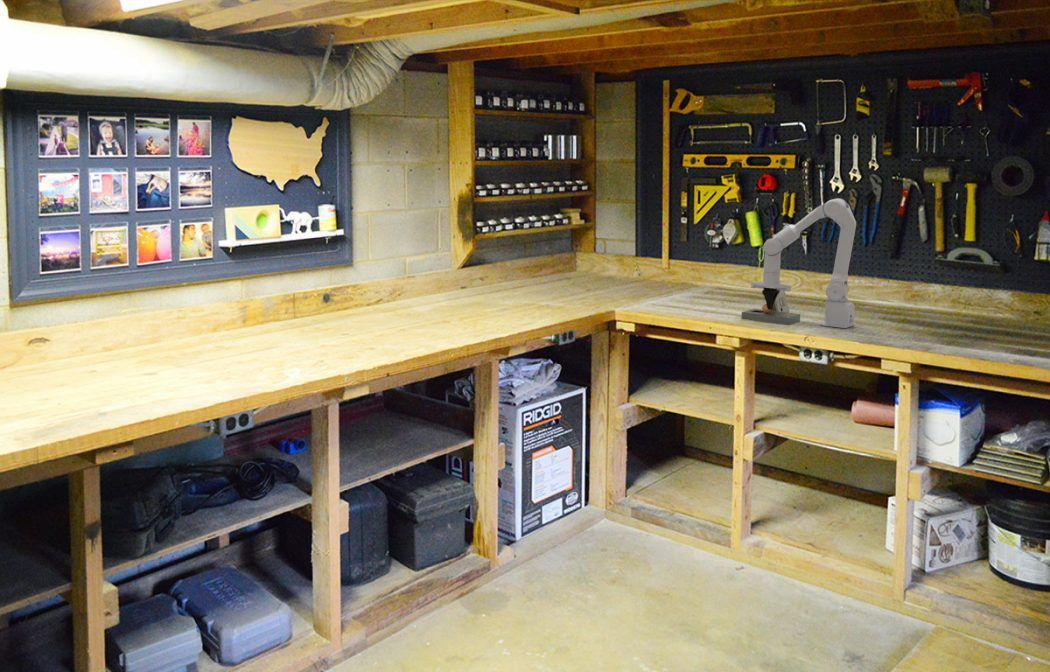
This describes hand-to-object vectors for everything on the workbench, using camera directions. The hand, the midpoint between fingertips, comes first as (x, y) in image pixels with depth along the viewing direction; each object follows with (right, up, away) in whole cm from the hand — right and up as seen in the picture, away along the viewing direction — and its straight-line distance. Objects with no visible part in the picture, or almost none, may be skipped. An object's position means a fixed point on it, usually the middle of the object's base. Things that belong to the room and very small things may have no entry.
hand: (769, 309), depth 344 cm
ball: (-1, 0, +1) cm, 1 cm away
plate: (0, -4, 0) cm, 4 cm away
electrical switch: (+6, -2, +13) cm, 15 cm away
